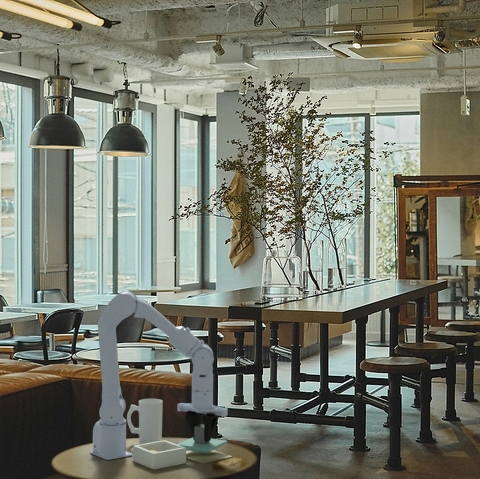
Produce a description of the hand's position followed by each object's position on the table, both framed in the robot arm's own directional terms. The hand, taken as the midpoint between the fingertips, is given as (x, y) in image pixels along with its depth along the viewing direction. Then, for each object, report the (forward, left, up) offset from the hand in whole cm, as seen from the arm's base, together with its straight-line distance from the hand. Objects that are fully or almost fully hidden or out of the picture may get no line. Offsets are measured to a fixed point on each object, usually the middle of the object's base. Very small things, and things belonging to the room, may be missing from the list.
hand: (202, 440), depth 246 cm
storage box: (-1, -13, -4) cm, 14 cm away
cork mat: (0, 0, -4) cm, 4 cm away
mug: (-20, -5, -4) cm, 21 cm away
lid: (0, 0, -2) cm, 2 cm away
